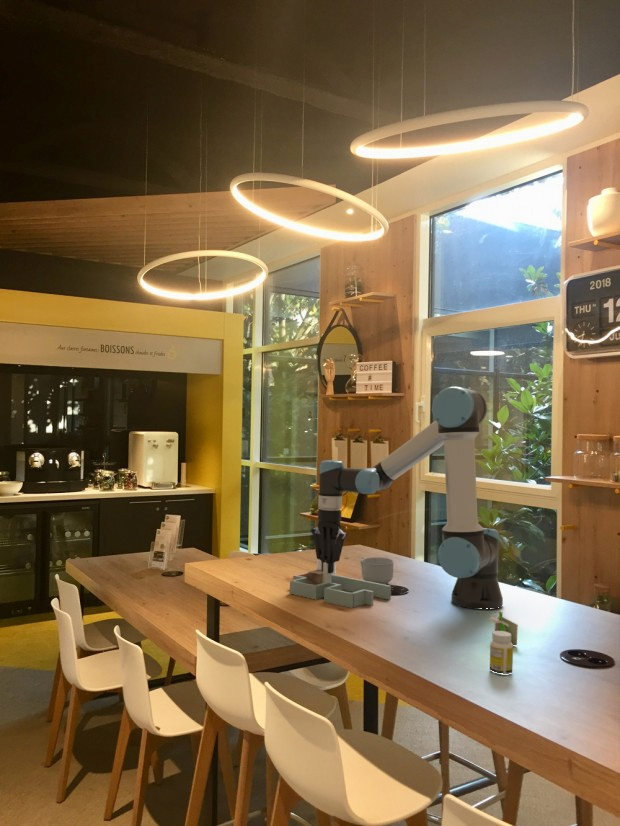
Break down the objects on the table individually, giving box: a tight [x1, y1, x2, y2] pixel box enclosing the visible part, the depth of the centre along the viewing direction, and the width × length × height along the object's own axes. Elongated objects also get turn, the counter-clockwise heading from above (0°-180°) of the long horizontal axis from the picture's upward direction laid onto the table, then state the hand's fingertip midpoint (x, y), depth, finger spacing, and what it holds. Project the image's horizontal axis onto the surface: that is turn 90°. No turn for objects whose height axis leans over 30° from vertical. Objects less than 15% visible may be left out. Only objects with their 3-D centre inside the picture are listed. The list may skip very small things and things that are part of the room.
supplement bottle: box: [489, 630, 514, 674], centre depth 151 cm, size 5×5×8 cm
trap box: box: [289, 571, 392, 609], centre depth 214 cm, size 30×18×4 cm, turn 53°
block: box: [308, 569, 323, 585], centre depth 225 cm, size 5×5×5 cm
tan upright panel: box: [489, 610, 519, 646], centre depth 172 cm, size 4×7×8 cm, turn 15°
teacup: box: [360, 556, 395, 585], centre depth 234 cm, size 14×11×8 cm
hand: (326, 582), depth 222 cm, fingers closed
